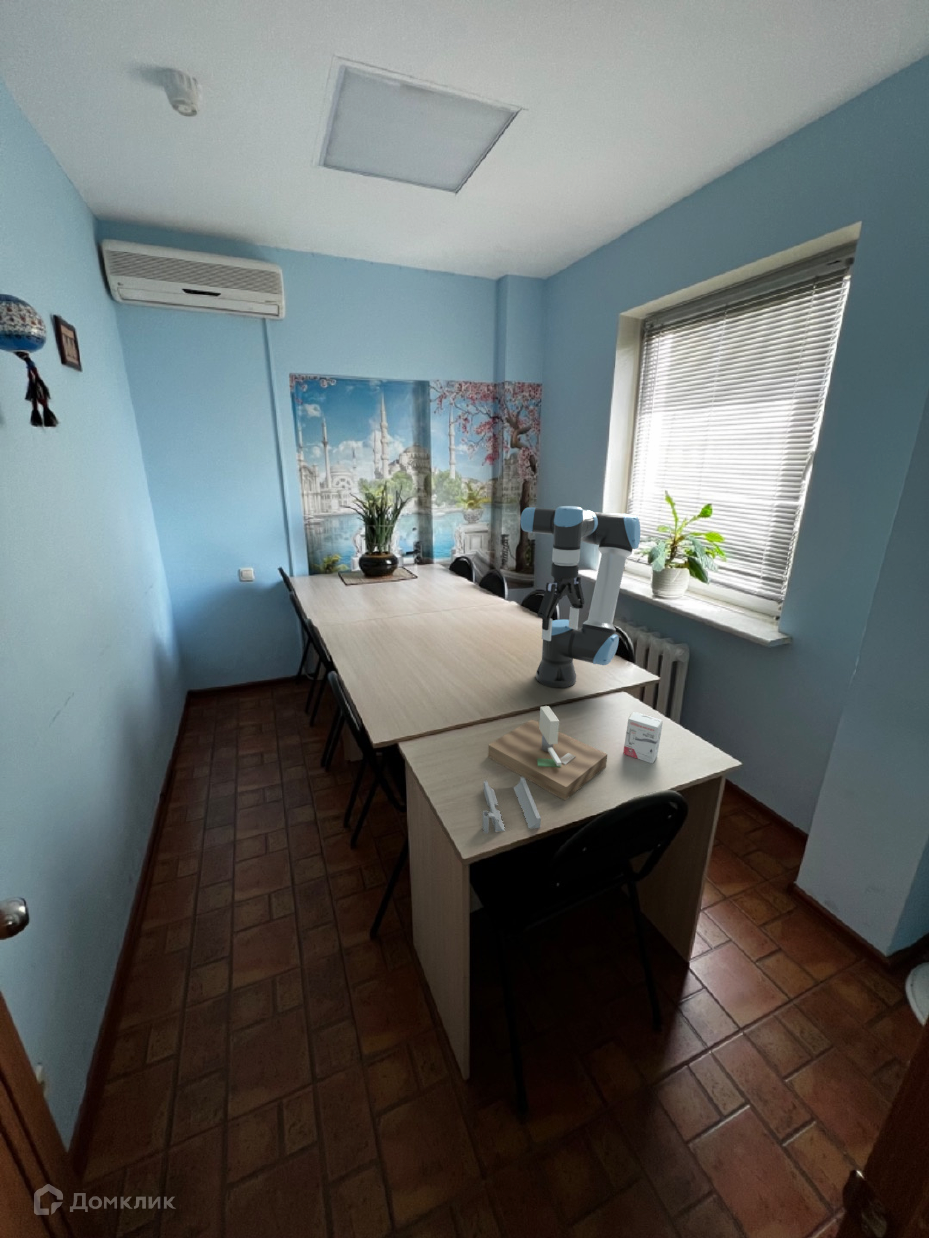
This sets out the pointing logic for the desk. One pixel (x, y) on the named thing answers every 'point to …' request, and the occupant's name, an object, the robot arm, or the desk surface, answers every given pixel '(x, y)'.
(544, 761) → the brown wavy board
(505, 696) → the desk surface
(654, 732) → the ink box
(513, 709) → the desk surface
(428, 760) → the desk surface
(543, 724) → the white piece
